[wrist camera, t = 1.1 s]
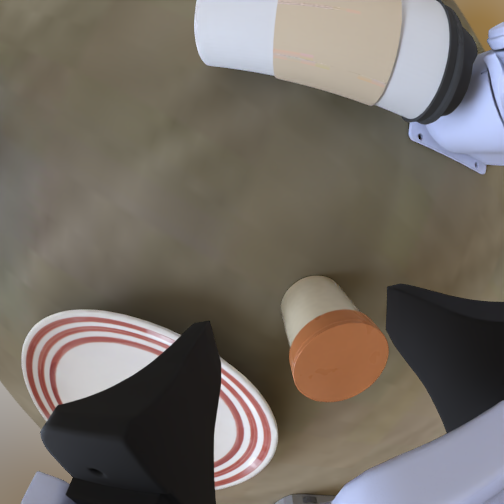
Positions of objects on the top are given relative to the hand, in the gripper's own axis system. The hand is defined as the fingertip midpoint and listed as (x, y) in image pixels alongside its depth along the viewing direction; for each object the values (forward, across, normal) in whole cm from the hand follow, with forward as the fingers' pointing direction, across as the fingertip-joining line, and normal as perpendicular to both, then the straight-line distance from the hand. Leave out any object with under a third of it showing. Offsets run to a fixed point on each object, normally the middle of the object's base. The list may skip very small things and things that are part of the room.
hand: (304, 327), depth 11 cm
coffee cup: (+7, +1, -16) cm, 18 cm away
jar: (+10, -2, +5) cm, 12 cm away
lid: (+3, -2, +5) cm, 6 cm away
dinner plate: (+10, +16, +14) cm, 24 cm away
